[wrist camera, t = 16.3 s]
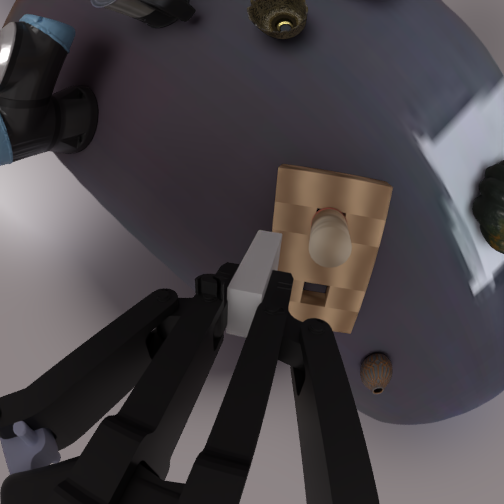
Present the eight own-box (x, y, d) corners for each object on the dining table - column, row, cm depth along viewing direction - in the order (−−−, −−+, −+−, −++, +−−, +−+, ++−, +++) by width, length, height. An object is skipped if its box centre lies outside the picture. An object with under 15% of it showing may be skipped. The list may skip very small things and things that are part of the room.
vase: (353, 359, 52) (354, 391, 44) (378, 343, 49) (383, 376, 41) (371, 373, 53) (373, 403, 45) (395, 358, 49) (401, 389, 42)
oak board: (267, 305, 51) (262, 318, 47) (282, 163, 39) (278, 167, 35) (349, 319, 48) (350, 333, 44) (386, 181, 36) (392, 187, 32)
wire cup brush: (321, 34, 28) (320, 13, 21) (280, 57, 32) (271, 41, 25) (289, 2, 27) (282, -21, 20) (251, 25, 30) (236, 6, 23)
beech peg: (310, 229, 42) (305, 264, 32) (314, 198, 39) (311, 223, 29) (341, 235, 41) (346, 271, 31) (347, 203, 38) (356, 231, 28)
